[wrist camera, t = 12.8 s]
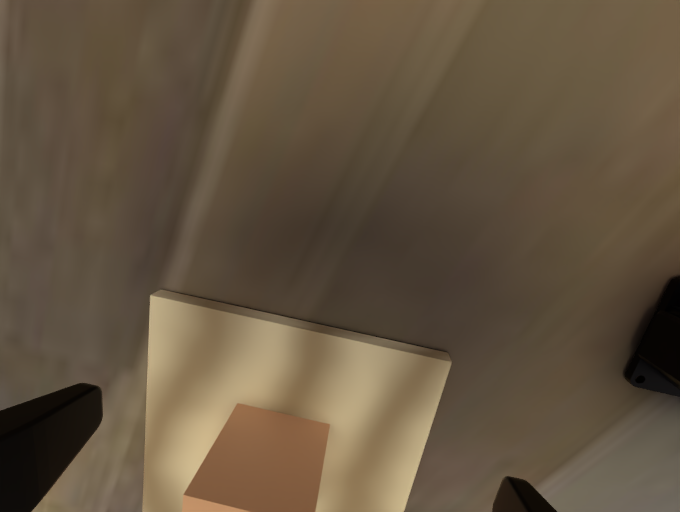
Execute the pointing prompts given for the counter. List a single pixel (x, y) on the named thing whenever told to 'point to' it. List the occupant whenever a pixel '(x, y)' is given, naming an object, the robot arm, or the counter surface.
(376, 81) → the counter surface
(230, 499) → the tan cardboard-like cube
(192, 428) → the post base
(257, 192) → the counter surface
